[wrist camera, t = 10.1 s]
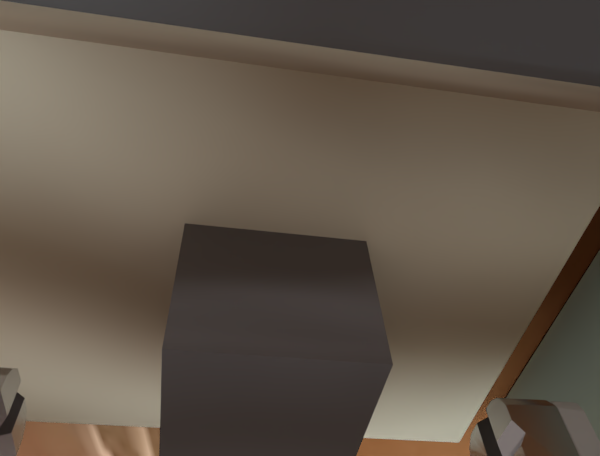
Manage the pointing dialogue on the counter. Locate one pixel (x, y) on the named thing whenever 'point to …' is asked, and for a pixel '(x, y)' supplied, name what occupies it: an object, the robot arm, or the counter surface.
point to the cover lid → (273, 231)
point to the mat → (399, 28)
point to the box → (569, 353)
